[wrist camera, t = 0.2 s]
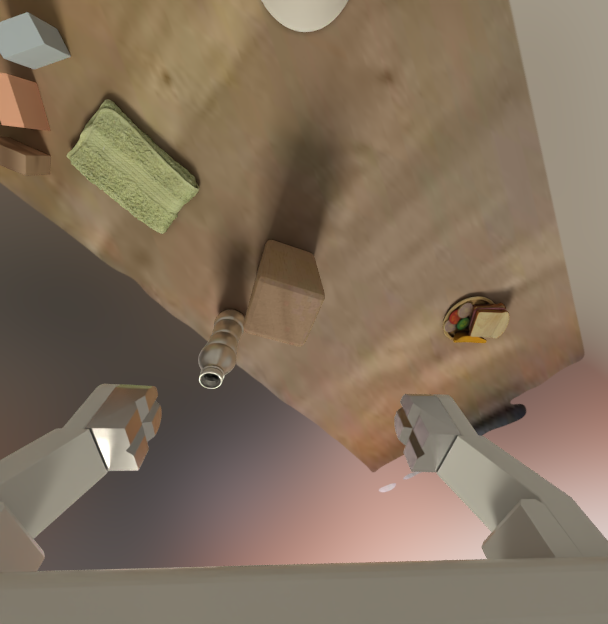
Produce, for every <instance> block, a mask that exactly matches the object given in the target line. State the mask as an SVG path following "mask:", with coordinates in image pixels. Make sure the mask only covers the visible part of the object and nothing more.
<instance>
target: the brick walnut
mask: <svg viewBox="0 0 608 624" xmlns="http://www.w3.org/2000/svg"><path fill="white" fill-rule="evenodd" d="M50 162H51V156H50V155H47V154H45V153H43V152H41V151H38V150H36V149H34V148H31V147H29V146H27V145H25V144H22V143H20V142H18V141H15V140H13V139H11V138H9V137H0V165H1V166H3V167H6V168H8V169H11V170H13V171H15V172H18V173H20V174H23V175H25V176H30V175H46V174H50Z"/></svg>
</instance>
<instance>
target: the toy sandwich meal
mask: <svg viewBox="0 0 608 624" xmlns="http://www.w3.org/2000/svg"><path fill="white" fill-rule="evenodd" d="M508 322H509V313H508V312H507V311H506V307H505V305H504V304H502V303H499V304H494V303H493V302H492V301H491V300H490V299H488V298H486V297H481V296H475V297H470V298H466V299H464V300H462V301H460V302H458V303H457V304H455V305H454V306H453V307H452V308H451V309H450V310H449V311H448V313H447V314H446V316H445V318H444V322H443V331H444V333H445V335H446V336H447V337H448V338H449V339H451V340H453V341H454V342H474V343H486V339H484V338H482V337H492V338H494V339H496V338H498V337H500V336H501V335H502V334H503V332H504V331H505V329H506V327H507V325H508Z"/></svg>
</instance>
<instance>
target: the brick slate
mask: <svg viewBox="0 0 608 624" xmlns="http://www.w3.org/2000/svg"><path fill="white" fill-rule="evenodd" d="M0 53H1V55H2V57H3V58H4V59H7V60H9V61H12V62H15V63H18V64H20V65H23V66H26V67H29V68H31V69H37V68H40V67H43V66H46V65H48V64H51V63H54V62H57V61H60V60H63V59H66V58H69V57H71V55H70V53H69V51H68V49H67V48H66V46H65V44H64V42H63V40H62V38H61V36H60V34H59V32H58V30H57V29H56V28H55V27H53V26H51V25H49V24H48V23H46V22H44V21H42V20H41V19H39V18H37V17H35V16H34V15H32V14H30V13H28V12H26V13H24V14H21V15H18V16H15V17H13V18H10V19H7V20H4V21H2V22H0Z"/></svg>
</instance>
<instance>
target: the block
mask: <svg viewBox="0 0 608 624" xmlns="http://www.w3.org/2000/svg"><path fill="white" fill-rule="evenodd" d="M324 298H325V295H324V290H323V286H322V283H321V279H320V276H319V272H318V268H317V265H316V261H315V258H314V255H313V254H312V253H310V252H307V251H304V250H301V249H298V248H295V247H292V246H289V245H286V244H283V243H280V242H278V241H275V240H268V241H267V242H266V245H265V248H264V252H263V255H262V258H261V262H260V265H259V269H258V272H257V275H256V279H255V282H254V286H253V290H252V294H251V297H250V301H249V305H248V308H247V312H246V316H245V319H244V323H243V328H244V331H245V332H247V333H249V334H253V335H257V336H261V337H264V338H268V339H272V340H276V341H280V342H284V343H287V344H291V345H295V346H303V345H304V343H305V342H306V340H307V337H308V335H309V333H310V331H311V328H312V326H313V324H314V321H315V319H316V317H317V315H318V312H319V310H320V308H321V305H322V303H323V301H324Z"/></svg>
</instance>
